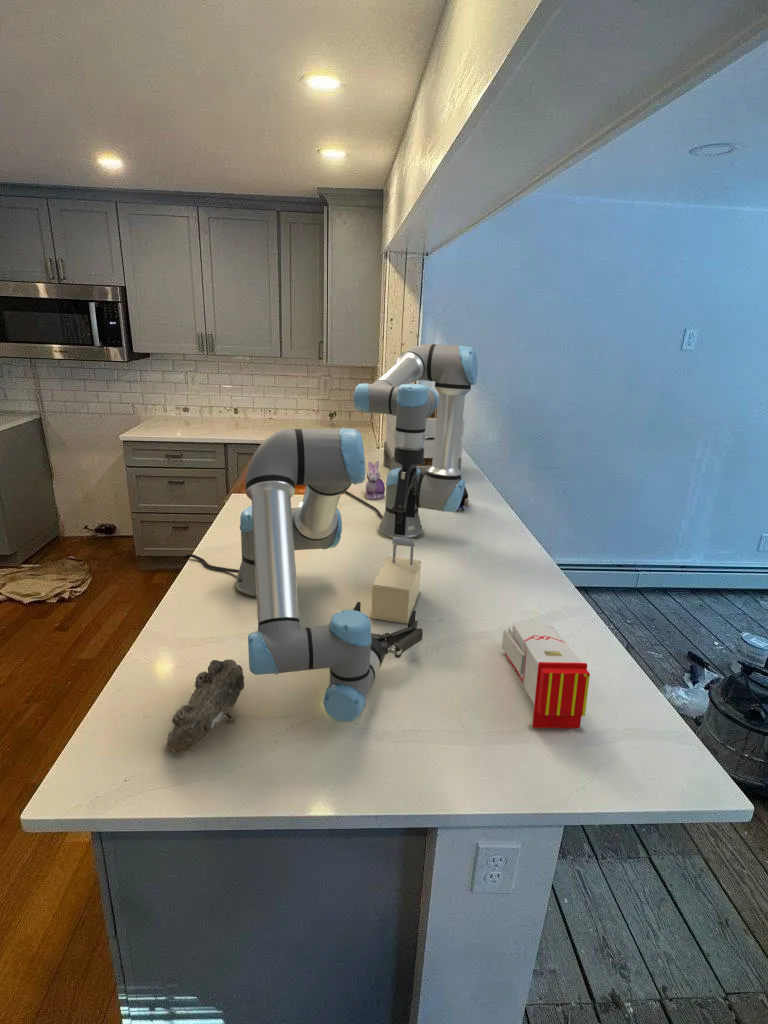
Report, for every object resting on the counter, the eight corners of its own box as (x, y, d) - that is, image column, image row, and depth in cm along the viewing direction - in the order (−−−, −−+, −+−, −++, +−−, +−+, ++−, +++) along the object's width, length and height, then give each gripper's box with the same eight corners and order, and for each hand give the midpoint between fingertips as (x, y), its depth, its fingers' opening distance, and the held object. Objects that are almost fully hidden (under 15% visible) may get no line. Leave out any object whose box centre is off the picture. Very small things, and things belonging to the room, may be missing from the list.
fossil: (192, 660, 117) (244, 628, 112) (224, 691, 120) (276, 661, 115) (142, 746, 98) (202, 712, 93) (182, 779, 101) (242, 748, 96)
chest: (386, 588, 161) (387, 559, 158) (418, 592, 159) (420, 564, 156) (371, 618, 145) (372, 587, 142) (407, 623, 143) (409, 592, 140)
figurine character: (468, 516, 224) (463, 500, 237) (471, 498, 221) (465, 483, 234) (452, 515, 224) (447, 499, 237) (453, 498, 220) (449, 482, 234)
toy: (548, 608, 134) (599, 669, 104) (543, 661, 136) (591, 735, 107) (497, 607, 133) (533, 668, 104) (493, 660, 136) (527, 734, 107)
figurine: (370, 501, 232) (371, 465, 226) (359, 493, 240) (360, 459, 235) (390, 498, 236) (392, 463, 231) (379, 491, 244) (380, 457, 239)
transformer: (382, 463, 289) (386, 382, 275) (445, 464, 293) (451, 384, 279) (390, 482, 257) (394, 392, 243) (460, 483, 261) (468, 394, 247)
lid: (388, 558, 159) (389, 531, 156) (421, 563, 157) (423, 536, 154) (372, 587, 142) (373, 557, 139) (409, 592, 140) (411, 562, 137)
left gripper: (305, 665, 120) (336, 616, 140) (421, 687, 115) (436, 633, 135) (305, 635, 118) (336, 589, 137) (424, 655, 113) (439, 605, 132)
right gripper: (415, 460, 131) (410, 544, 138) (431, 438, 154) (426, 511, 161) (383, 457, 133) (380, 540, 140) (404, 435, 156) (400, 508, 163)
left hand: (386, 611), depth 136 cm, fingers open, 13 cm apart
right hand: (404, 525), depth 151 cm, fingers open, 13 cm apart
